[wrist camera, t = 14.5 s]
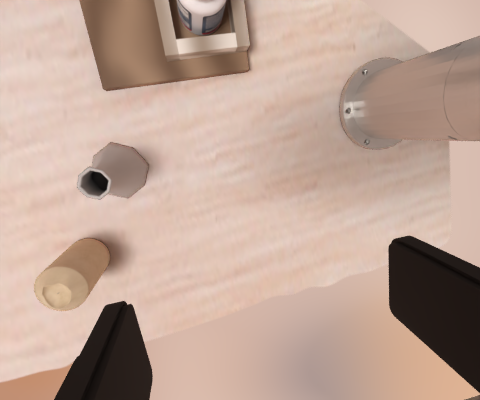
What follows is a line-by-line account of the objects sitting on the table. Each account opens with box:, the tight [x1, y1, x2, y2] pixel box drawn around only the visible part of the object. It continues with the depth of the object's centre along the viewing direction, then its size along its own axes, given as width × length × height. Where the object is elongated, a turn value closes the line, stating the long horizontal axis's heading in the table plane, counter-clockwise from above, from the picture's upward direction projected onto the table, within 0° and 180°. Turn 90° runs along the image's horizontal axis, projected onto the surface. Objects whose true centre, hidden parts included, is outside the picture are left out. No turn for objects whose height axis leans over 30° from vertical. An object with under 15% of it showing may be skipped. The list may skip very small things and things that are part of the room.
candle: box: [34, 239, 110, 311], centre depth 34 cm, size 6×6×10 cm
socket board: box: [80, 0, 250, 91], centre depth 31 cm, size 18×14×4 cm
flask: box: [77, 142, 148, 200], centre depth 32 cm, size 7×7×10 cm
